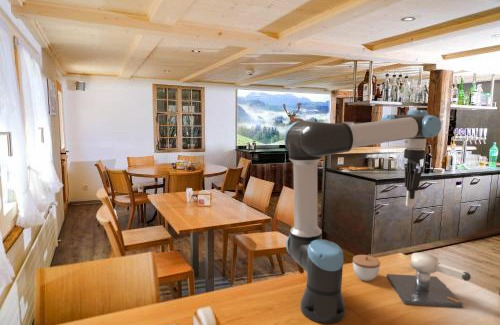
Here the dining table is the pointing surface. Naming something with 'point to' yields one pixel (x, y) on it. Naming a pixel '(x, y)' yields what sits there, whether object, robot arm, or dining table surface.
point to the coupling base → (422, 296)
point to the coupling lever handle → (435, 266)
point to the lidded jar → (366, 267)
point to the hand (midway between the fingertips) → (409, 205)
